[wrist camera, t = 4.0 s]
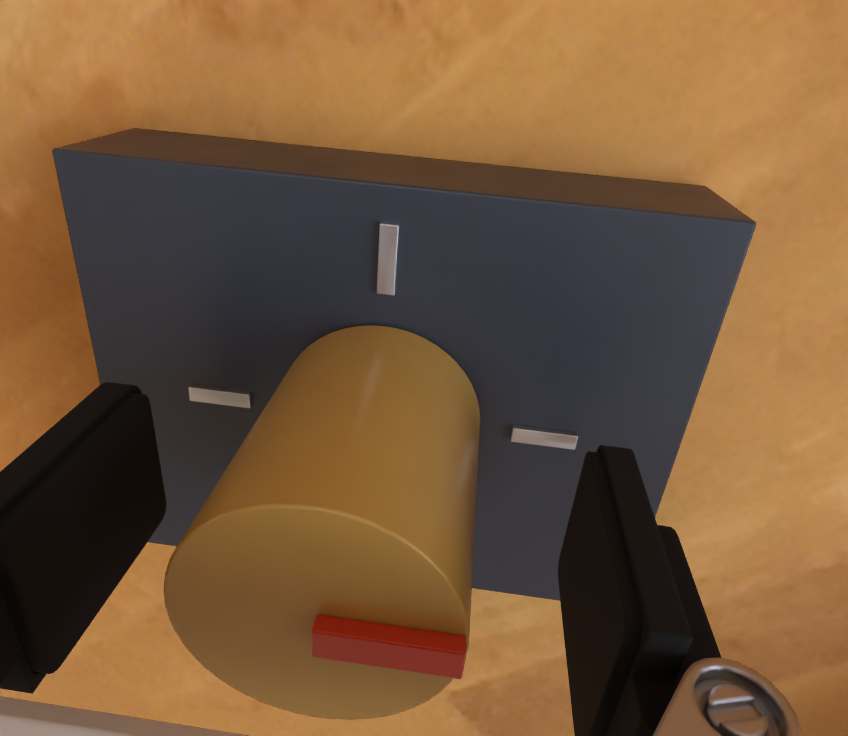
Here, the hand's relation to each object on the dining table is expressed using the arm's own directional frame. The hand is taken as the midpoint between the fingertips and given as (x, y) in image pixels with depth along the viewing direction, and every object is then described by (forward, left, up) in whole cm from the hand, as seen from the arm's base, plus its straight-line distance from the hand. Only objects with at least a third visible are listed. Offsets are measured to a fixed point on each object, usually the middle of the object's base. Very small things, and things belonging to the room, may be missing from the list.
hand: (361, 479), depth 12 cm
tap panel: (0, 0, -5) cm, 5 cm away
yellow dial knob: (0, 0, -2) cm, 2 cm away
